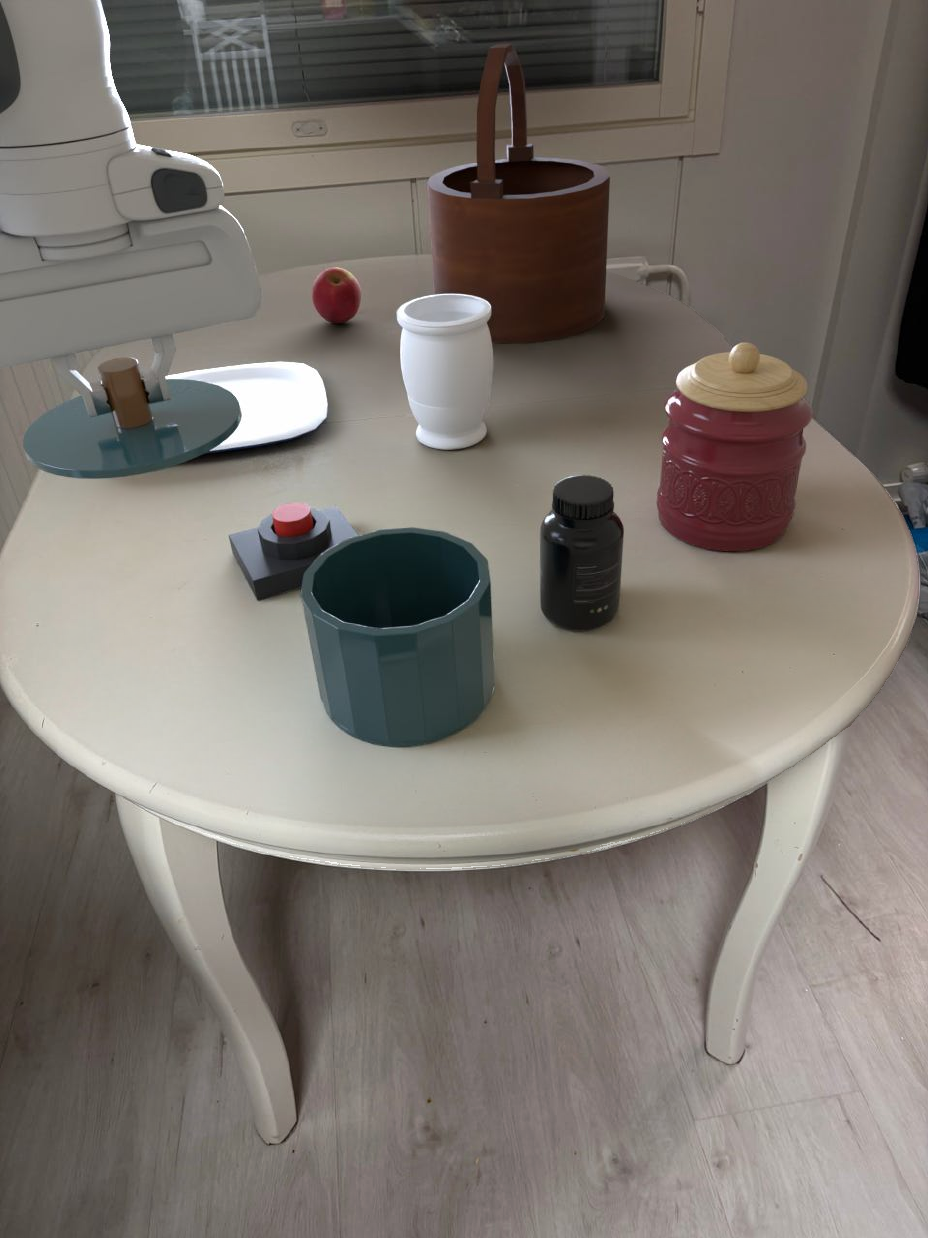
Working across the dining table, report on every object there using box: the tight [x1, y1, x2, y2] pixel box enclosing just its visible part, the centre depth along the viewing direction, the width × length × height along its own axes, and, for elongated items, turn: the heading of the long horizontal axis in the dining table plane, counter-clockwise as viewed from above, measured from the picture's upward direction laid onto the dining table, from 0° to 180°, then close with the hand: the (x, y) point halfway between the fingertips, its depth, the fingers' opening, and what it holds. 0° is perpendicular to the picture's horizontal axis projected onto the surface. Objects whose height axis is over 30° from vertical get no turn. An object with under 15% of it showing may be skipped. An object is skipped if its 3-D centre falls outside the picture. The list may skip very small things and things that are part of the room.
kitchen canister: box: [656, 342, 814, 552], centre depth 86 cm, size 13×13×18 cm
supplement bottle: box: [539, 474, 625, 632], centre depth 77 cm, size 7×7×12 cm
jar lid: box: [22, 357, 242, 480], centre depth 63 cm, size 15×15×5 cm
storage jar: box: [300, 526, 496, 748], centre depth 70 cm, size 14×14×10 cm
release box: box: [228, 505, 359, 601], centre depth 88 cm, size 11×9×4 cm
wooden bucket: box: [426, 42, 611, 344], centre depth 131 cm, size 26×26×35 cm
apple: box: [311, 266, 362, 324], centre depth 140 cm, size 8×8×8 cm
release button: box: [271, 501, 313, 537], centre depth 86 cm, size 4×4×2 cm
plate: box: [166, 361, 329, 455], centre depth 116 cm, size 25×25×2 cm
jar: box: [396, 294, 494, 451], centre depth 104 cm, size 11×10×15 cm
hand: (130, 405), depth 63 cm, fingers closed on jar lid, 2 cm apart
